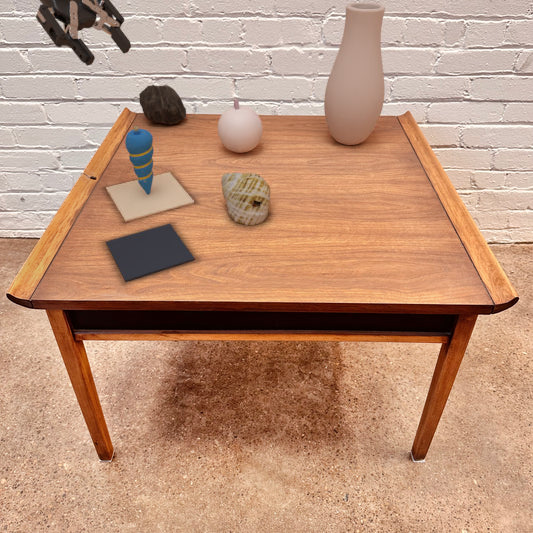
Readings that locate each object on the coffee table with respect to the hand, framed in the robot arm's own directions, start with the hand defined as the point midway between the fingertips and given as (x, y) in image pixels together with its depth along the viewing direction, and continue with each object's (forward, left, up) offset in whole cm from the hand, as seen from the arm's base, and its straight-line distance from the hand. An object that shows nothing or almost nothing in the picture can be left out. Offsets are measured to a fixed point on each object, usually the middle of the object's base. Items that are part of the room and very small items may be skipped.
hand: (110, 56), depth 82 cm
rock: (+18, +32, -27) cm, 45 cm away
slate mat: (-4, -21, -27) cm, 34 cm away
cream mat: (+2, -3, -27) cm, 27 cm away
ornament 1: (+2, -3, -26) cm, 27 cm away
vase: (+54, -1, -27) cm, 60 cm away
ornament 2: (+28, +7, -27) cm, 39 cm away
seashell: (+17, -17, -27) cm, 36 cm away
